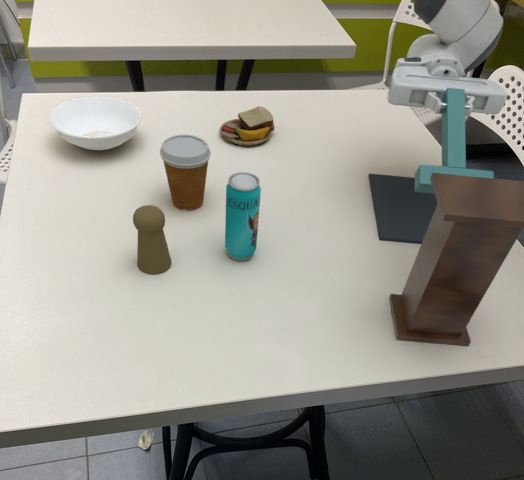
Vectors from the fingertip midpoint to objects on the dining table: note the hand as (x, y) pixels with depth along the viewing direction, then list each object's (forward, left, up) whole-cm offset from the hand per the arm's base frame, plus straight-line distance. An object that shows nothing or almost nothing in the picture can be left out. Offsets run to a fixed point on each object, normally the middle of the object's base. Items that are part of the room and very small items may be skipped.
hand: (454, 110), depth 82 cm
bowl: (+69, -22, -24) cm, 76 cm away
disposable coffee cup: (+46, -2, -24) cm, 52 cm away
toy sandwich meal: (+36, -33, -24) cm, 55 cm away
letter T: (0, +4, -4) cm, 6 cm away
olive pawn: (+49, +18, -24) cm, 57 cm away
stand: (+1, +26, -24) cm, 36 cm away
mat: (-1, -7, -24) cm, 25 cm away
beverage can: (+34, +13, -24) cm, 44 cm away
